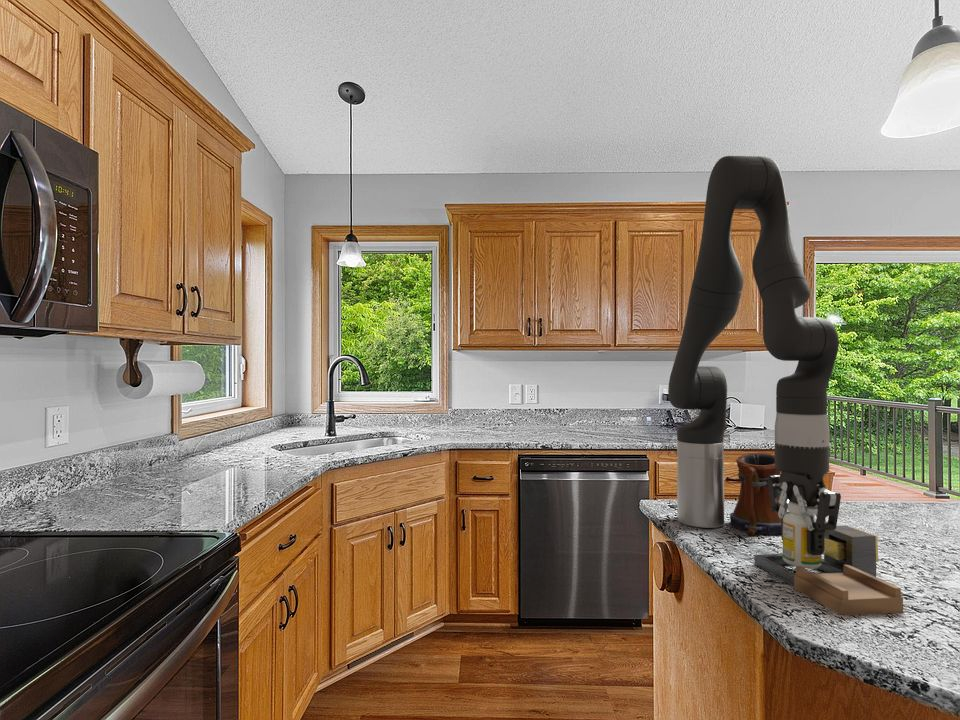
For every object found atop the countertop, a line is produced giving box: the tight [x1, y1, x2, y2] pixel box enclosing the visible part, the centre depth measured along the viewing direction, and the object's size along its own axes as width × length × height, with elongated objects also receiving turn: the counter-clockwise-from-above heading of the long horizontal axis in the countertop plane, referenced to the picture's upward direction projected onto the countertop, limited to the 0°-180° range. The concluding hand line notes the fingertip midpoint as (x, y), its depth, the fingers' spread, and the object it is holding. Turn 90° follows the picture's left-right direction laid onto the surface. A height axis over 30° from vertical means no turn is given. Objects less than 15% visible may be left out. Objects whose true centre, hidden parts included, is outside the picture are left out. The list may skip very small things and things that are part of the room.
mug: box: [729, 452, 781, 537], centre depth 111 cm, size 18×12×15 cm, turn 141°
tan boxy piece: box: [822, 526, 879, 563], centre depth 88 cm, size 5×6×4 cm
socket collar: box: [753, 553, 843, 587], centre depth 87 cm, size 10×10×2 cm
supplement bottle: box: [782, 501, 823, 570], centre depth 87 cm, size 5×5×10 cm
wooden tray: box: [793, 565, 904, 617], centre depth 77 cm, size 9×9×3 cm
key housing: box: [823, 524, 877, 577], centre depth 88 cm, size 6×4×6 cm, turn 6°
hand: (801, 547), depth 87 cm, fingers closed on supplement bottle, 5 cm apart
